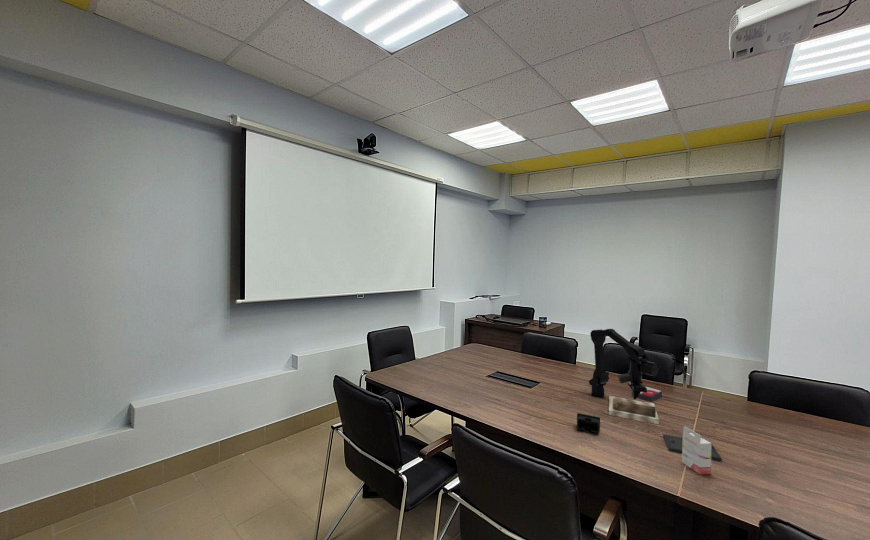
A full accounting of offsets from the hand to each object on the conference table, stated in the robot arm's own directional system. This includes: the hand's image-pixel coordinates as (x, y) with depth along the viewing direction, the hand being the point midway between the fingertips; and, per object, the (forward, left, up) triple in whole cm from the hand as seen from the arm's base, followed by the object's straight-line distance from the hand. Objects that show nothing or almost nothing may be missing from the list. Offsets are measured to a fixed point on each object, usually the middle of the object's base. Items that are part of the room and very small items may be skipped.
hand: (634, 398), depth 185 cm
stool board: (-1, -2, -6) cm, 7 cm away
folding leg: (-1, -10, -4) cm, 10 cm away
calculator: (+8, +28, -7) cm, 30 cm away
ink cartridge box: (+18, -51, -7) cm, 54 cm away
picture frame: (+19, -34, -7) cm, 39 cm away
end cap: (-21, -38, -7) cm, 43 cm away
